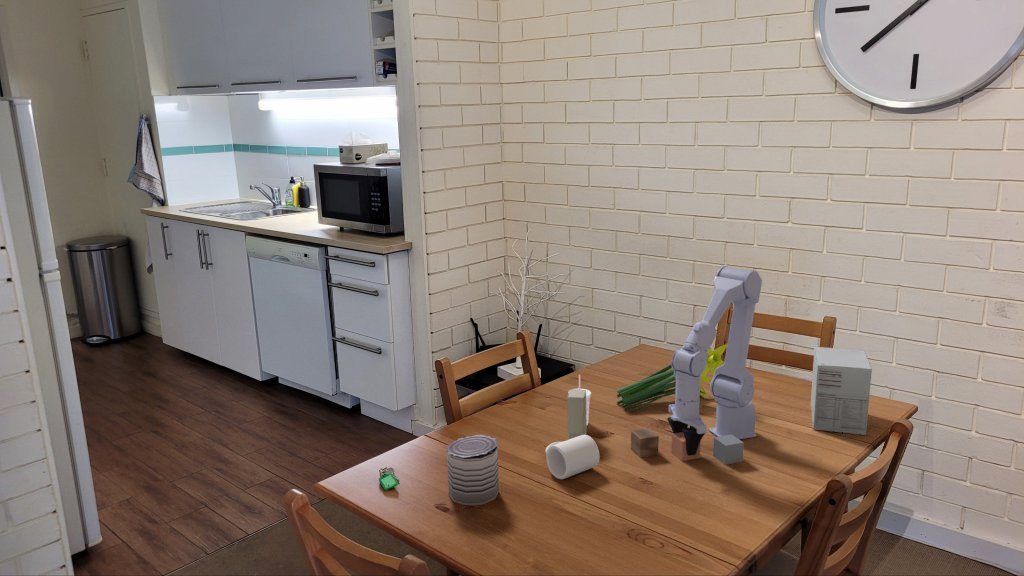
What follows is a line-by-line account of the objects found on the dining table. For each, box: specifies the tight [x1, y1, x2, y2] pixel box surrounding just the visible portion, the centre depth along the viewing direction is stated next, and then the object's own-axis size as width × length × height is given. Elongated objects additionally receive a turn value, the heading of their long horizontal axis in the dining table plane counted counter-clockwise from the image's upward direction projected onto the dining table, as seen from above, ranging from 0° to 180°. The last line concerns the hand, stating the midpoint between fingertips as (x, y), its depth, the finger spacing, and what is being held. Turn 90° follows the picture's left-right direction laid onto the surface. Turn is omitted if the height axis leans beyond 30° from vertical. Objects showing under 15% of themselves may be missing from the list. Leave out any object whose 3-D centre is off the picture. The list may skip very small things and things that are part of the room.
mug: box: [544, 434, 600, 480], centre depth 179 cm, size 12×10×8 cm
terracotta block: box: [671, 432, 702, 462], centre depth 185 cm, size 5×5×5 cm
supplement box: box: [810, 346, 873, 436], centre depth 202 cm, size 17×13×18 cm
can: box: [446, 434, 500, 506], centre depth 168 cm, size 11×11×12 cm
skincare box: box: [566, 388, 588, 440], centre depth 196 cm, size 6×4×12 cm
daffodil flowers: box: [615, 343, 728, 413], centre depth 218 cm, size 17×15×35 cm
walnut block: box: [630, 427, 660, 458], centre depth 187 cm, size 5×5×5 cm
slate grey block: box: [712, 434, 745, 465], centre depth 182 cm, size 5×5×5 cm
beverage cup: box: [567, 374, 592, 426], centre depth 204 cm, size 6×6×14 cm
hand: (685, 449), depth 185 cm, fingers closed on terracotta block, 5 cm apart
